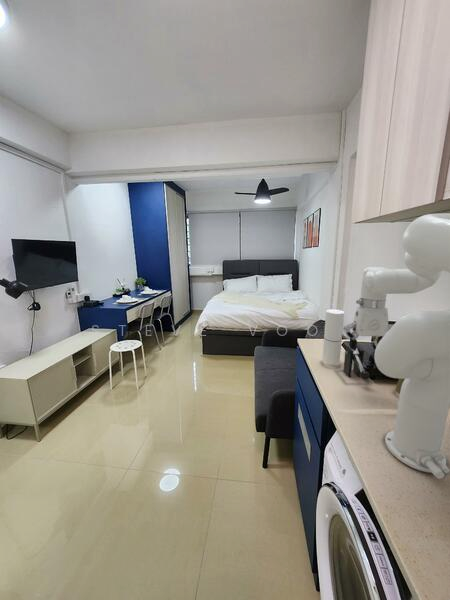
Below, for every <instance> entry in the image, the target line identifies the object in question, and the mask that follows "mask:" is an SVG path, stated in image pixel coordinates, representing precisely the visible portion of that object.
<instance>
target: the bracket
mask: <svg viewBox="0 0 450 600" xmlns="http://www.w3.org/2000/svg"><path fill="white" fill-rule="evenodd" d="M356 348H357V350H358V352H359V355H358V357H359V359H360V362H361V364H362V365H363V362H364V355H365V350H364V349H363V348H361V346H359V345H357V347H356ZM353 352H354V351H353V350H352V349H351V348H350V346H349V345H346V346H345V351H344V362H343V370H342V371H343V373H344V374H345V375H346V376H347V378H351V377H352V372H353V373H354V374H355V376H357V378H360V372H361V371H360V369H359V367H358V365H357V362H356V360H355V358H354V357H353ZM352 368H353V369H352Z"/></svg>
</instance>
